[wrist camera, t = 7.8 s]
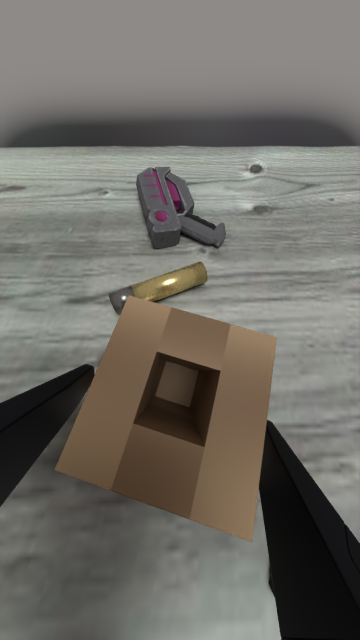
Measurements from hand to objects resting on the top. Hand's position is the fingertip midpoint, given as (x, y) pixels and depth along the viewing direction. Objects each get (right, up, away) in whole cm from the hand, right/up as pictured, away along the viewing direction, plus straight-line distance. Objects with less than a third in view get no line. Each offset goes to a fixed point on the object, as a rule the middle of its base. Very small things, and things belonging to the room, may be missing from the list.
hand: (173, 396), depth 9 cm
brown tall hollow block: (0, -2, +8) cm, 8 cm away
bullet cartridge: (-2, +7, +11) cm, 13 cm away
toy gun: (0, +19, +15) cm, 24 cm away
